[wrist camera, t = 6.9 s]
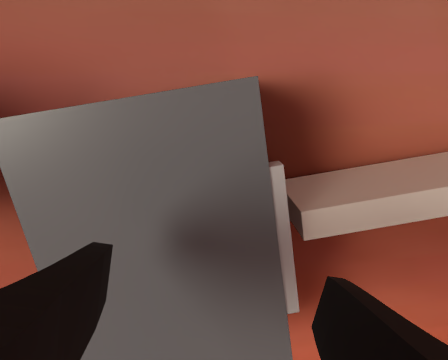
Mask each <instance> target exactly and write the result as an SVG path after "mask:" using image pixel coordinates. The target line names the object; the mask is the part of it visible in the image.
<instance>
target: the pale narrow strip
mask: <svg viewBox="0 0 448 360" xmlns="http://www.w3.org/2000/svg"><path fill="white" fill-rule="evenodd" d="M285 183H286V192H287V202H288V211H289V219H290V220H291V222H292V223H293V225H294V226H295V228H296V229H297V231H298V233H299V234H300V236H301V237H302V239H303V240H304V241H307V240H312V239H318V238H324V237H330V236H335V235H341V234H347V233H353V232H358V231H364V230H370V229H376V228H382V227H387V226H393V225H399V224H405V223H410V222H416V221H422V220H428V219H433V218H439V217H445V216H448V152H443V153H437V154H431V155H425V156H419V157H413V158H408V159H402V160H396V161H390V162H384V163H378V164H372V165H366V166H361V167H355V168H349V169H343V170H337V171H331V172H325V173H319V174H314V175H308V176H302V177H296V178H290V179H285Z"/></svg>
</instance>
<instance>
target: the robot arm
mask: <svg viewBox="0 0 448 360" xmlns="http://www.w3.org/2000/svg"><path fill="white" fill-rule="evenodd" d="M112 249H113V245H112V244H105V243H98V242H92V243H90V244H88V245H86V246H84V247H83V248H81V249H79V250H77V251H75V252H74V253H72V254H70V255H68V256H67V257H65V258H63V259H61V260H59V261H57V262H56V263H54V264H52V265H50V266H48V267H46V268H44V269H42V270H40V271H38V272H36V273H34V274H32V275H30V276H28V277H26V278H23V279H21V280H19V281H17V282H15V283H13V284H10V285H8V286H6V287H3V288H1V289H0V360H80V359H81V358H82V356H83V354H84V352H85V350H86V348H87V346H88V344H89V342H90V340H91V338H92V336H93V334H94V332H95V330H96V327H97V324H98V322H99V319H100V316H101V313H102V311H103V308H104V305H105V302H106V298H107V289H108V281H109V273H110V265H111V257H112ZM312 330H313V334H314V338H315V342H316V345H317V349H318V352H319V356H320V358H321V360H448V345H447V344H445V343H443V342H441V341H440V340H438V339H436V338H435V337H433V336H432V335H430V334H429V333H427V332H425V331H424V330H422V329H421V328H419V327H417V326H416V325H414V324H413V323H411V322H410V321H408V320H407V319H405V318H404V317H402V316H401V315H399V314H398V313H396V312H395V311H393V310H392V309H391V308H389V307H388V306H386V305H385V304H383V303H382V302H380V301H379V300H377V299H376V298H375V297H373V296H372V295H370V294H369V293H367V292H366V291H364V290H363V289H361V288H360V287H358V286H356V285H355V284H353V283H351V282H350V281H348V280H346V279H343V278H336V277H329V276H327V279H326V283H325V286H324V289H323V292H322V295H321V298H320V302H319V305H318V308H317V311H316V314H315V317H314V321H313V324H312Z"/></svg>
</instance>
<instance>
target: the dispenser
mask: <svg viewBox="0 0 448 360" xmlns="http://www.w3.org/2000/svg"><path fill="white" fill-rule="evenodd" d="M0 168H1V171H2V174H3V176H4V179H5V182H6V185H7V187H8V190H9V193H10V196H11V198H12V201H13V204H14V207H15V209H16V212H17V215H18V218H19V220H20V223H21V226H22V229H23V231H24V234H25V237H26V240H27V243H28V245H29V248H30V251H31V254H32V256H33V259H34V262H35V265H36V267H37V270H38V271H40V270H42V269H44V268H46V267H48V266H50V265H52V264H54V263H56V262H57V261H59V260H61V259H63V258H65V257H67V256H68V255H70V254H72V253H74V252H75V251H77V250H79V249H81V248H83V247H84V246H86V245H88V244H90V243H92V242H98V243H105V244H112V245H113V249H112V257H111V265H110V273H109V281H108V289H107V298H106V302H105V305H104V308H103V311H102V313H101V316H100V319H99V322H98V324H97V327H96V330H95V332H94V334H93V336H92V338H91V340H90V342H89V344H88V346H87V348H86V350H85V352H84V354H83V356H82V358H81V359H80V360H293V359H292V351H291V343H290V334H289V326H288V318H287V314H291V313H296V312H300V311H299V302H298V293H297V284H296V275H295V266H294V256H293V247H292V238H291V229H290V220H289V211H288V202H287V192H286V183H285V174H284V165H283V164H282V163H281V162H280V161H273V162H268V155H267V147H266V139H265V130H264V122H263V114H262V106H261V98H260V90H259V81H258V76H254V77H248V78H242V79H236V80H230V81H224V82H218V83H212V84H206V85H200V86H194V87H188V88H181V89H175V90H169V91H163V92H157V93H151V94H145V95H139V96H133V97H127V98H121V99H115V100H109V101H103V102H96V103H90V104H84V105H78V106H72V107H66V108H60V109H54V110H48V111H42V112H36V113H30V114H24V115H18V116H11V117H5V118H0Z"/></svg>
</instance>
